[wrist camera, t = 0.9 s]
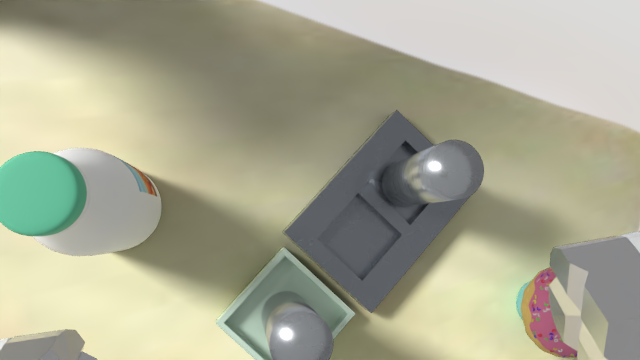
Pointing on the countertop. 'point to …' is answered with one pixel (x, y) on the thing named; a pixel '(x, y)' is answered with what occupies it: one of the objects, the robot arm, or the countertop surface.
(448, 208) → the pallet
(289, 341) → the billet
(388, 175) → the seated billet
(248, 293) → the tray
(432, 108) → the countertop surface
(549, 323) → the cupcake
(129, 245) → the milk bottle
